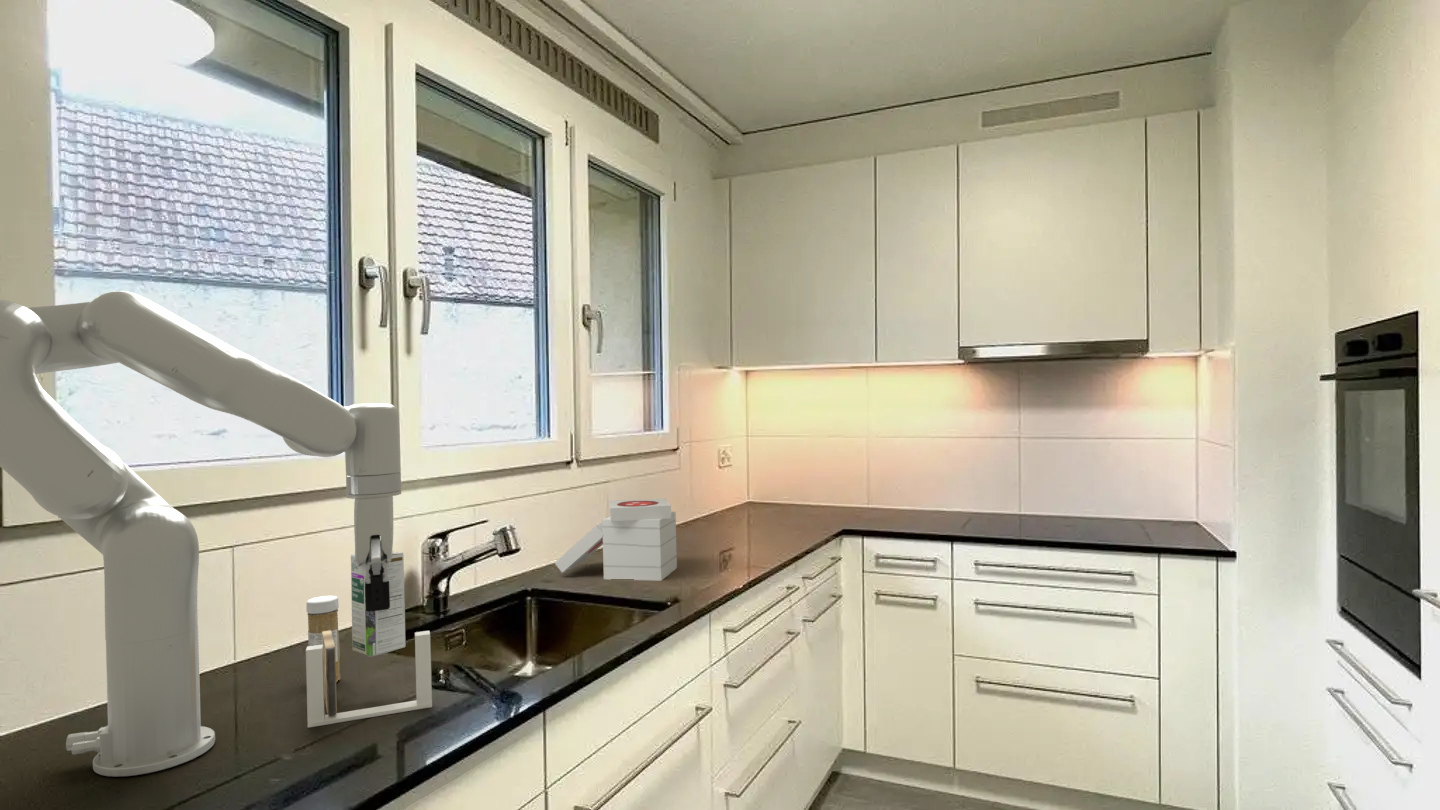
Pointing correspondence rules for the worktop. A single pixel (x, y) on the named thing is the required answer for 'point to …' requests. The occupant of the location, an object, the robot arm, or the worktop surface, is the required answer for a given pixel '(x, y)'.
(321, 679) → the door frame
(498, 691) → the worktop surface
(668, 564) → the stacked pizza boxes
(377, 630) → the syrup box
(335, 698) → the door
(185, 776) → the worktop surface
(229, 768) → the worktop surface
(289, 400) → the robot arm
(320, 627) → the sprinkles bottle
